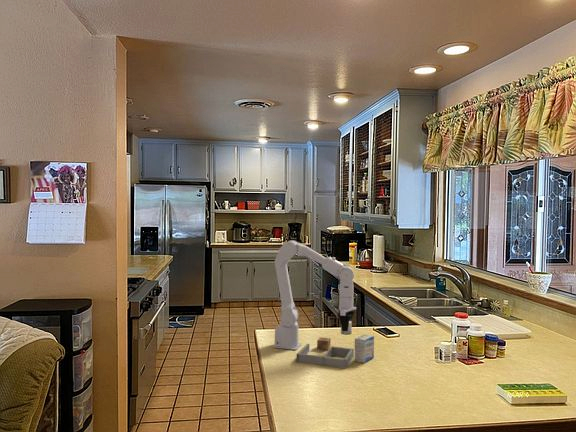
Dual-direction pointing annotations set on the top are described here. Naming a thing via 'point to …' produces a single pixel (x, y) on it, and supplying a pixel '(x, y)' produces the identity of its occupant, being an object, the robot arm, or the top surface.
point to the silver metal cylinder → (348, 329)
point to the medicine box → (364, 348)
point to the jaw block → (323, 344)
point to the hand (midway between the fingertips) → (346, 329)
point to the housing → (327, 357)
